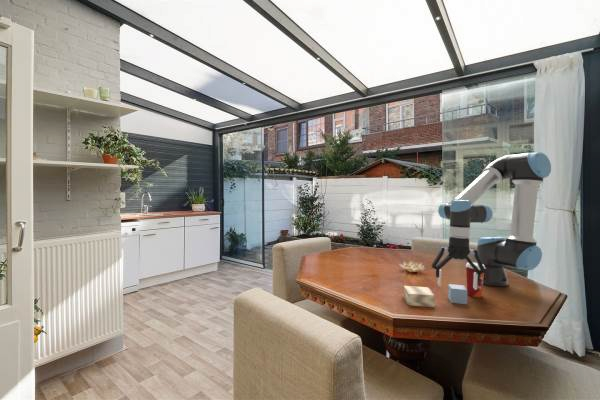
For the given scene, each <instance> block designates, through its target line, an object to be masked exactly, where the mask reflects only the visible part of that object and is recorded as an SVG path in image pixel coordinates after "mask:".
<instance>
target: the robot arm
mask: <svg viewBox="0 0 600 400" xmlns="http://www.w3.org/2000/svg"><path fill="white" fill-rule="evenodd" d="M551 171H552V164H551V161H550V159H549V157H548V155H547V154H545V153H544V152H525V153H518V154H517V153H516V154H507V155H504V156H501V157H499V158H497V159H495V160H494V161H492V162H490V163H489V164H488V165H487V166H486V167H485V168H483V170H482V171H481V174H480V175H478V177H476V178H475V179H474V180H473V181H472V182H470V183H469V185H468V186H466V187H465V188H464V189H463V190H462V191H461V192H460V193H459V194H458V195H457V196H455V197H454V198H453V199H452V200H451V201H449V202H445V203H441V204H440V205H439V207H438V209H437V211H438V215H439V217H441V218H442V219H445V220H449V238H448V247H444V246H440V248H439V252H438V254H437V255H436V256H435V258H434V260H433V262H432V263H431V268H432V269H434V270H435V278H437V285H438V286H439V287H442V268H443V267H444V266H446V264H447V263H448V262H450V261H451V260H452V259H454V260H466V262H467V263H469V264H470V265H471V266H472V268H473V269H474V270H475V271H476V273H475V272H474V279H473V288H474V289H475V290H477V281H478V282H480V275H481V273H484V280H483V286H491V287H507V286H508V284H509V283H508V281H509V280H508V278H507V274H506V271H505V266H506V267H511V268H514V269H518V270H525V271H532V270H535V269H536V268H537V267H538V266H539V265H540V263H541V261H542V256H543V253H542V248H541V247H539V246H538V245H537V241H536V239H535V238H534V229H535V223H536V222H535V220H536V212H537V211H536V210H537V201H538V192H539V186H540V185H541V184H543V183H544V179H546V178H548V177H549V176H550V174H551ZM506 179H511V182H512V183H513V184H514V185H515V186H514V193H513V194H514V196H513V206H512V213H511V221H510V222H511V223H510V231H509V232H510V233H509V235H508V236H506V237H502V236H486V237H485V236H484V237H479V238H478V239H477V245H476V248H477V249H475V248H473V249H470V235H471V224H472V223H480V224H483V223H489V222H490V221H491V219H492V218H493V210H492V208H491V207H490V206H489V205H484V204H475V202H477V201H478V200H479V199H480V198H481V197H482V196H483V195H485V194H486V192H488V191H489V190H490V189H491V188H492V187H493V186H494V185H497V184H499V183H501V182H502V181H503V180H506ZM446 252H448V254H447V256H446V257H444V259H443V260H442V261H440V260H441V259H442V257H443V256H444V254H445V253H446ZM470 253H471V255H472V256H473V258H474V259H475V262H474V263H477V264H478V266H479V268H480V270H479V269H478V268H477V267H476V266H475V265H474V263H473V261H472V260H471V258H470V257H469V254H470ZM483 265H484V266H485V268H484V266H483Z"/></svg>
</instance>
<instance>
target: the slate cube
mask: <svg viewBox="0 0 600 400" xmlns="http://www.w3.org/2000/svg"><path fill="white" fill-rule="evenodd" d="M447 285H448V286H447V290H448V292H447V298H448V300H449V302H450V303H451V304H463V305H467V304H468V294H467V287H466V286H465V285H461V284H453V283H452V284H451V283H449V284H447Z"/></svg>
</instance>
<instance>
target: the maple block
mask: <svg viewBox="0 0 600 400" xmlns="http://www.w3.org/2000/svg"><path fill="white" fill-rule="evenodd" d="M403 298H404V300H405V302H406V304H407V306H415V307H426V308H427V307H428V308H429V307H430V308H435V293H433V291H432V290H431V289H430V288H429V287H428V286H427V287H426V286H415V285H412V286H411V285H403Z"/></svg>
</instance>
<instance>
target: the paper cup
mask: <svg viewBox="0 0 600 400" xmlns="http://www.w3.org/2000/svg"><path fill="white" fill-rule="evenodd" d="M472 262H473V261H472ZM473 263H474V265H475V266H476V267H477V268H478V269H479V270H480V268H479V266H478V264H477V262H473ZM483 266H484V265H483ZM484 268H485V266H484ZM465 269H466V289H467V296H469V297H472V298H473V297H474V298H482V296H483V289H484V288H483V287H484V284H483V280H484V273H481V275H480V282H478V281H477V290H475V289H474V288H473V279H474V272H475V273H476V271H475V270H474V269H473V268H472V266H471V265H470V264H469V263H468V262H467V263H466V264H465Z"/></svg>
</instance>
